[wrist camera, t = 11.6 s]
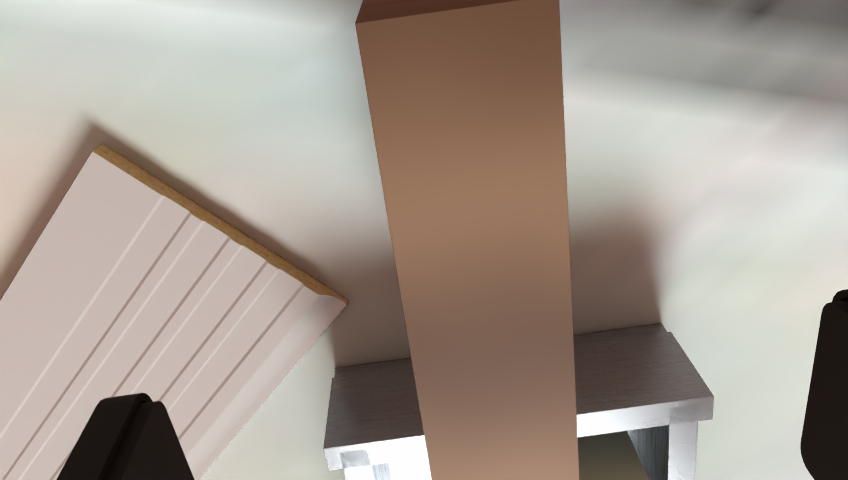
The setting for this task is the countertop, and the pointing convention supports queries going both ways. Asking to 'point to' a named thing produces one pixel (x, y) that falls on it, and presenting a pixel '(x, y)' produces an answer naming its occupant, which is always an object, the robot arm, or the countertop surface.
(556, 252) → the walnut board
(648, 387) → the rack
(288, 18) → the countertop surface
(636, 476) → the offcut
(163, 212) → the baseboard
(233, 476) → the countertop surface
